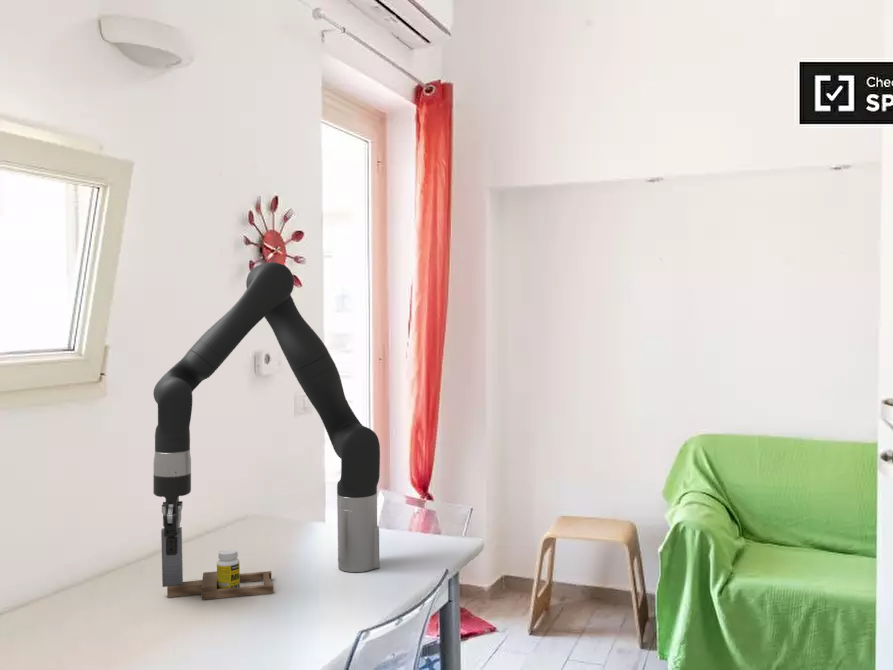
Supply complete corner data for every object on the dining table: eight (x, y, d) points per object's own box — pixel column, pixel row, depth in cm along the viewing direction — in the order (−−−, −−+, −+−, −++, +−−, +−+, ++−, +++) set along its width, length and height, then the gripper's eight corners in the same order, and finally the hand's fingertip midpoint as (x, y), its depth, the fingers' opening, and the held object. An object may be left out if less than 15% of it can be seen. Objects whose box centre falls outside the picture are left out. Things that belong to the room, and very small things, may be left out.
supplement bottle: (233, 594, 172) (232, 555, 172) (213, 593, 173) (212, 554, 172) (243, 586, 177) (243, 548, 176) (223, 585, 177) (222, 547, 177)
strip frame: (271, 577, 182) (270, 515, 181) (273, 592, 172) (272, 527, 172) (165, 587, 176) (163, 523, 176) (160, 603, 166) (159, 535, 166)
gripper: (189, 477, 165) (188, 561, 166) (192, 465, 179) (192, 543, 179) (150, 478, 163) (149, 564, 164) (156, 466, 177) (156, 545, 177)
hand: (172, 552), depth 171 cm, fingers closed on strip frame
